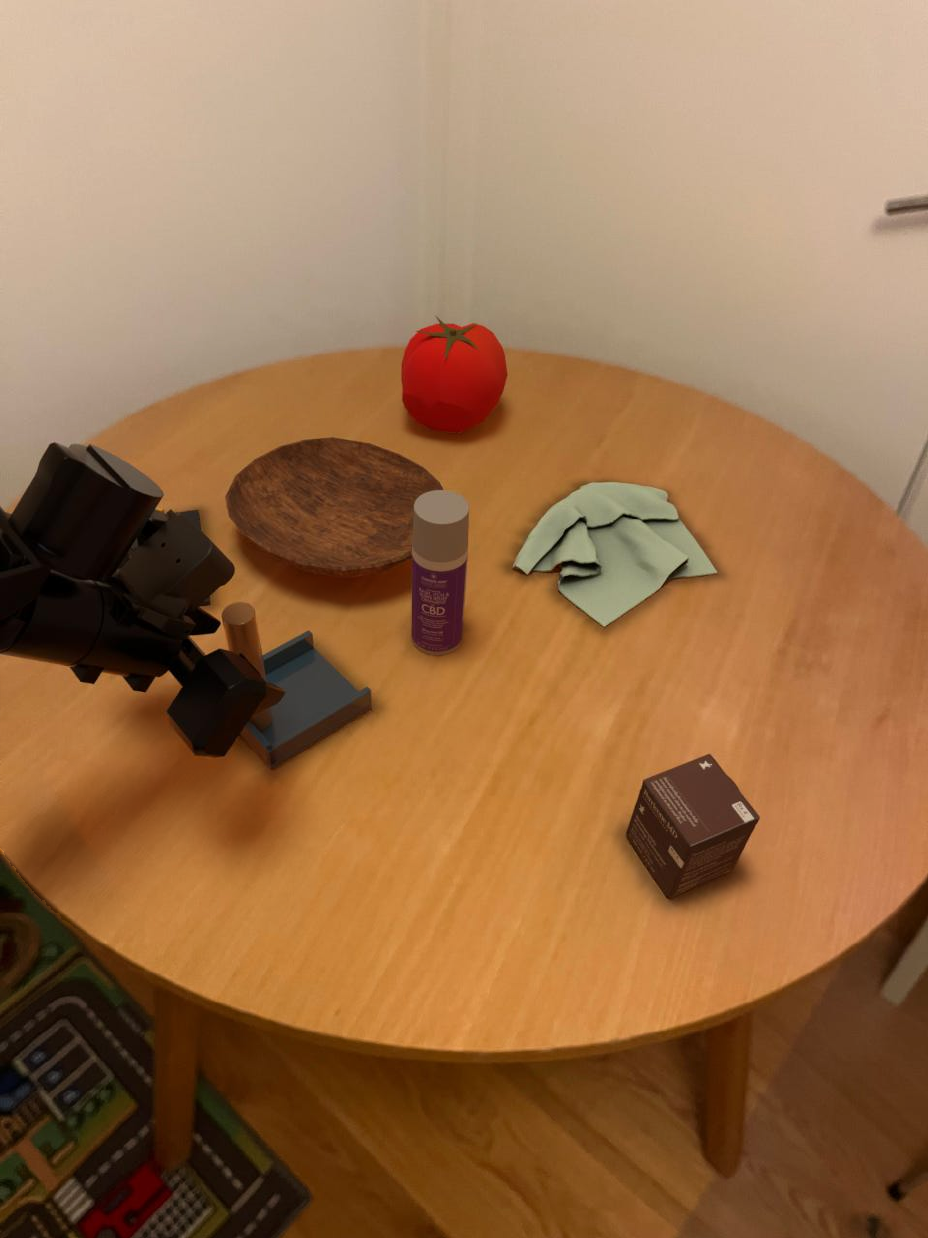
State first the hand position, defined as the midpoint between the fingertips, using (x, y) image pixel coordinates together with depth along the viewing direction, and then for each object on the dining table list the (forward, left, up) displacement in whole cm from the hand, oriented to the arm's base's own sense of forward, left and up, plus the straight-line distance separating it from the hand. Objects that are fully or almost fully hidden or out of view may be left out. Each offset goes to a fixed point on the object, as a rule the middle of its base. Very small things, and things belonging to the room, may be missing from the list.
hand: (248, 660), depth 70 cm
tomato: (+28, +41, -8) cm, 50 cm away
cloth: (+37, +14, -8) cm, 40 cm away
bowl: (+11, +22, -8) cm, 26 cm away
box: (+29, -20, -8) cm, 36 cm away
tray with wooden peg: (+3, +1, -8) cm, 8 cm away
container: (+17, +6, -8) cm, 20 cm away
